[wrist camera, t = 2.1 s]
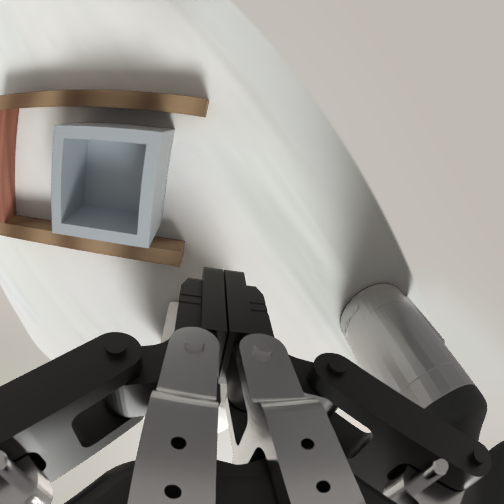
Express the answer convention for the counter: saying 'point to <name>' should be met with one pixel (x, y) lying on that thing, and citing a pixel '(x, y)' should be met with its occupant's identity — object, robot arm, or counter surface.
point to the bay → (7, 106)
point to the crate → (109, 181)
